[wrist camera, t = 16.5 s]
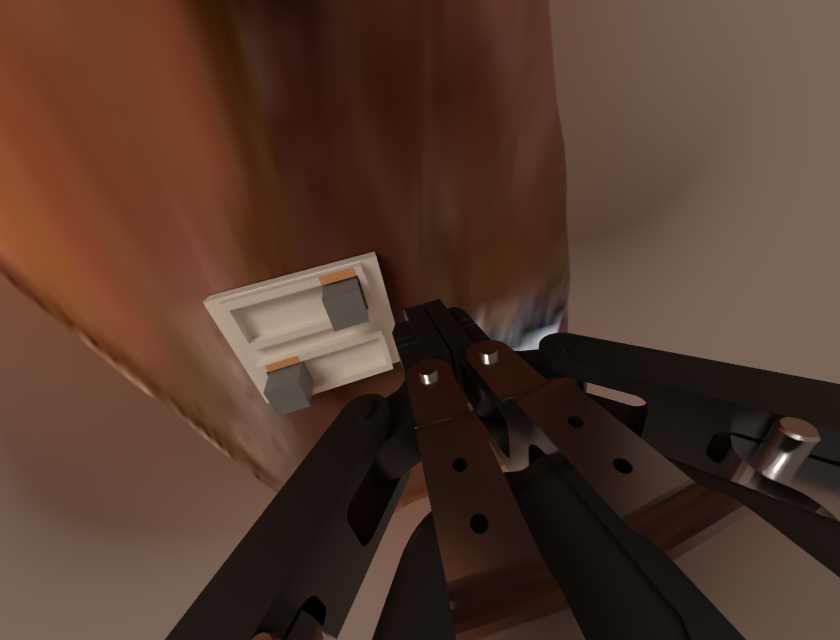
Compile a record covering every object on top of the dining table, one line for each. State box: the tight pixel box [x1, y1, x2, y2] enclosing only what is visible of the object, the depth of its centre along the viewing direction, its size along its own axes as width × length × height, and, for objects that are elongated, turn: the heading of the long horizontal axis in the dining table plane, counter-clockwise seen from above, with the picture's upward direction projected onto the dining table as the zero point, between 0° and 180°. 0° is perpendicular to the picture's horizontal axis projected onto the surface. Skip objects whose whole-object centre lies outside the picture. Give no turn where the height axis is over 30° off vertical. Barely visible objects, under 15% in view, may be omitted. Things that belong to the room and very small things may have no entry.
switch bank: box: [203, 252, 400, 403], centre depth 38 cm, size 16×20×4 cm
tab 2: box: [322, 276, 369, 332], centre depth 34 cm, size 4×4×5 cm
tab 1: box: [263, 361, 313, 416], centre depth 38 cm, size 4×4×5 cm
